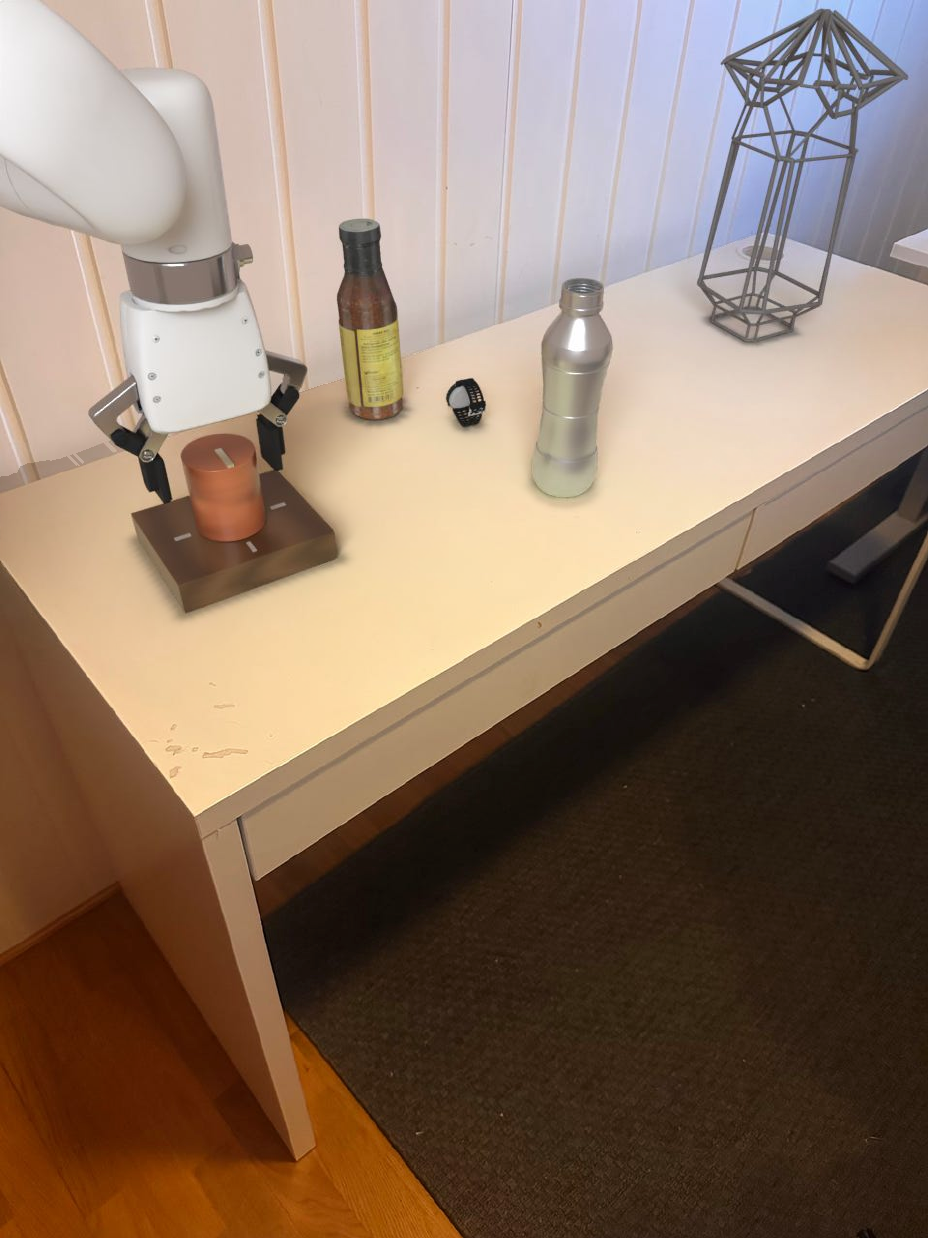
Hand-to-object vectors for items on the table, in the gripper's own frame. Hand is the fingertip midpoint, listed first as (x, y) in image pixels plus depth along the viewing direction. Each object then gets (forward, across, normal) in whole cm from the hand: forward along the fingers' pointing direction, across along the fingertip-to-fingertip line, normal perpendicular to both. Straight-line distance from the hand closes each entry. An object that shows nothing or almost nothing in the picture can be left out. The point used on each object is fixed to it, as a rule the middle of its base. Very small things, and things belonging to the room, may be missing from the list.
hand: (218, 479), depth 75 cm
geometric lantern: (+6, -77, -10) cm, 78 cm away
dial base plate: (+8, -1, 0) cm, 8 cm away
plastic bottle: (+7, -32, +7) cm, 33 cm away
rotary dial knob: (+5, -1, 0) cm, 5 cm away
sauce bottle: (+7, -24, -16) cm, 30 cm away
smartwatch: (+7, -30, -8) cm, 32 cm away
